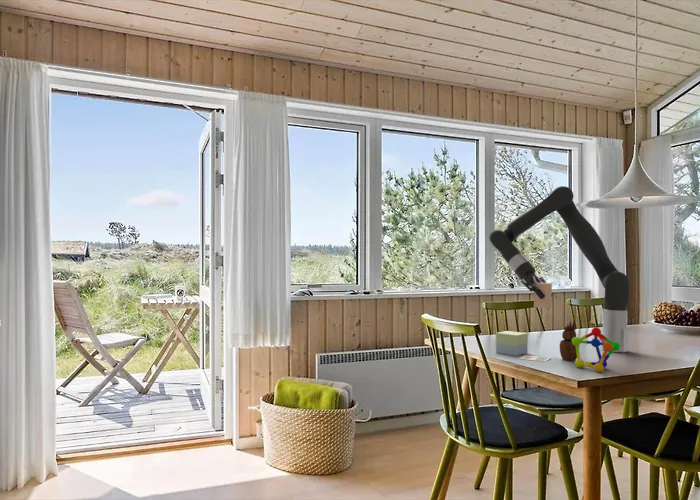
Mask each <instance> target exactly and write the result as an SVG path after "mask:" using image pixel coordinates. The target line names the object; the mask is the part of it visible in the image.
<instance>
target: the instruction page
mask: <svg viewBox="0 0 700 500" xmlns="http://www.w3.org/2000/svg"><path fill="white" fill-rule="evenodd" d="M551 359H552V358H551V357H545V356H543V357H542V356H536V355H526V354H523V355H522V356H520V357H518V360H525V361H526V360H527V361H534V362H543V363H546V362H548V361H550V360H551Z"/></svg>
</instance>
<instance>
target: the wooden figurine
mask: <svg viewBox="0 0 700 500" xmlns="http://www.w3.org/2000/svg"><path fill="white" fill-rule="evenodd" d="M575 329H576V320H575V319H574V320H573V322H572V321H569V324H567V325H566V326H564V330H563V331H562V333H561V335H562V338H563V339H562V340H560V342H559V352H560V356H561V359H562V360H565V361H570V362H571V361H576V360H577V353H576V347H575V345H573V344H572V338H574V337H577V333H576V331H575ZM578 347H580V345H578Z"/></svg>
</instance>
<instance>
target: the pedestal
mask: <svg viewBox="0 0 700 500" xmlns="http://www.w3.org/2000/svg"><path fill="white" fill-rule="evenodd" d="M528 335H529V334H528V333H527V332H519V331H511V330H503V331H499V332H496V335H495V336H496V337H495V338H496V339H495V341H496V342H495V353H496V354H502V355H509V356H515V357H518V356H521V355H522V356H523V355H526V354H528Z"/></svg>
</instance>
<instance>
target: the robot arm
mask: <svg viewBox="0 0 700 500" xmlns="http://www.w3.org/2000/svg"><path fill="white" fill-rule="evenodd" d="M555 212H556V213H558V215H559V217H561V219H562V220H563V222H564V223H565V225H566V228H567V230H568V231H569V233H570V235H571V237H572V238H573V240H574V242H575V244H576V245H577V246H578V248H579V249H580V251H581V252H582V254H583V255H584V257H585V258H586V260H587V261H588V262H589V264H590V265H591V266H592V268H593V269H594V270H595V272H596V274H597V276H598V278H599V280H600V281H599V282H600V283H601V285H602V286H603V288H604V300H603V302H602V303H603V304H602V335H604V336H605V337H606V338H607V339H609V340H610V341H611V342H618V343H619V344H620V348H619V350H617V351H613V352H612V353H627V352H629V346H630V345H629V344H630V343H629V340H630V339H629V338H630V337H629V335H630V334H629V333H630V332H629V328H628V305H629V302H630V279H629V278H628V276H627V275H626V274H625V273H624V272H621V271H619V270H618V269H617V267H616V266H615V265H614V264H613V262H612V261H611V259H610V258H609V255H608V252H607V249H606V247H605V245H604V241H602V238H601V236H600V235H599V233H598V232H597V230H596V229H595V228H594V227H593V225H592V224H591V223H590V222H589V220H587V218H585V217H584V216H583V215H582V214H581V212H580V211H579V210H578V208H577V206H576V204H575V202H574V191H572V189H571V188H570V187H568V186H564V185H563V186H562V185H560V186H557V187H555V188H554V189H553V190H551V192H550V194H549V195H547V197H546V198H544V199H543V200H542V201H540V202H539V203H538V204H536V205H534V206H533V207H531V208H529V209H528V210H527V211H525V212H523V213H521V214H520V215H518V216H517V217H516V218H514V219H513V220H511V221H509V223H507V227H506V228H505V229H504V230H502V229H499V228H497V229H494V230H492V231H490V233H489V241H490V243H491V244H492V246H493V247H494V248H495V249H496V250H498V252H499V253H500V255H501V256H502V258H503V259H504V260H505V262H506V263H507V264H508V265H509V267H510V269H511V270H512V272H513V273H514V274H515V275H516V277H518V279H519V280H520V281H521V283H522V284H523V285H524V286H525V288H527V290H529V291H530V292H533V293H536V294H537V295H538V297H539V298H540V299H543V298H544V297H545V295H544V294H543V293H542V291H541V290H540V289H539V287H538V286H537V283H547V282H546V280H545V279H544V277H543V276H540V277H539V276H538V275H537V274H536V268H535V266H533V264H532V263H531V262H530V261H529V260H528V259H527V257H525V255H524V254H522V252H521V251H520V250H519V249H518V248H517V246H516V245H514V244H513V242H514V241H516V239H517V238H518V237H519V236H521V235H522V234H524V233H525V232H527V231H528V230H530V229H531V228H532V227H534V226H535V225H537V224H538V223H539V222H540V221H541V220H543V219H544V218H545V217H547V216H549V215H550V214H552V213H555ZM552 297H553V293H551V298H552ZM606 342H607V341H606ZM601 347H603V345H601ZM602 350H603V351H604V349H603V348H602Z"/></svg>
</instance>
